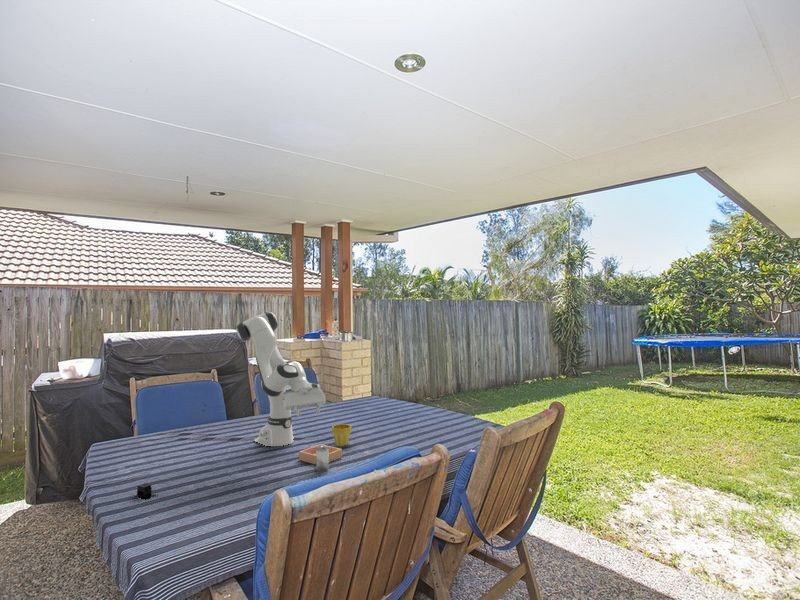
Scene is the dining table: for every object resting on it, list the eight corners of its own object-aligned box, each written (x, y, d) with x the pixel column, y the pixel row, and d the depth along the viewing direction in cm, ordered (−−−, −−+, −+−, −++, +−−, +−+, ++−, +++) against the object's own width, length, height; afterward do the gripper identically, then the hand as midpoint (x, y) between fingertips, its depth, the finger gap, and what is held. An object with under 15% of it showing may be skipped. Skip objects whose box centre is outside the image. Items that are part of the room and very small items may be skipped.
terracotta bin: (298, 459, 212) (299, 451, 212) (320, 452, 224) (320, 444, 224) (321, 465, 204) (321, 456, 204) (342, 457, 216) (342, 449, 216)
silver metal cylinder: (313, 469, 198) (313, 445, 198) (322, 466, 203) (322, 442, 203) (322, 472, 195) (322, 447, 195) (331, 468, 200) (331, 444, 200)
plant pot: (333, 448, 231) (333, 429, 231) (330, 442, 241) (330, 424, 241) (352, 446, 234) (352, 427, 234) (349, 441, 243) (349, 423, 244)
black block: (163, 496, 170) (163, 484, 170) (146, 503, 164) (146, 491, 164) (141, 491, 175) (141, 479, 175) (123, 498, 168) (123, 486, 168)
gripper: (282, 388, 210) (289, 412, 201) (322, 384, 221) (330, 407, 213) (279, 396, 213) (286, 420, 205) (318, 392, 225) (326, 415, 216)
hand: (309, 413), depth 209 cm, fingers open, 8 cm apart
